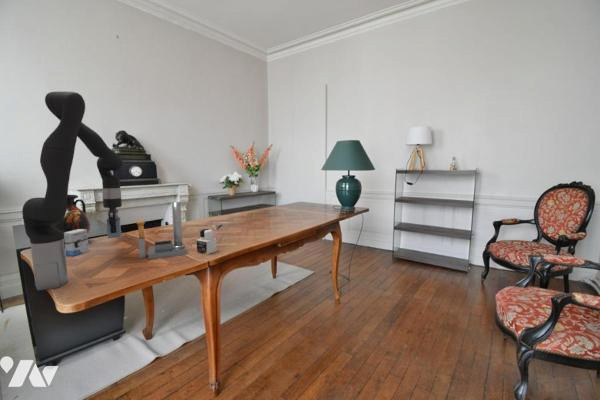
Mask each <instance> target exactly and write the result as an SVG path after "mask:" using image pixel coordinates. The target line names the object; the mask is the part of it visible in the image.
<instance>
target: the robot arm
mask: <svg viewBox="0 0 600 400" xmlns="http://www.w3.org/2000/svg"><path fill="white" fill-rule="evenodd" d="M44 103H45V106H46V107H47V109H48V110H49V111H50V113H51V114H52V115H53V116H54V117H56V118H57V119H58V120H59V123H58V125H57V127H56V128H55V129H54V130H53V131H52V132H51V133H50V134H49V135H48V136H47V138H46V139H45V140H44V142H43V143H42V144H43V145H42V147H41V151H40V156H39V157H40V159H39V163H40V167H41V170H42V172H43V175H44V176H45V180H46V191H45V195H44V197H31V198H29V199H28V200H26V201H25V202H24V204H23V206H22V210H21V211H22V213H21V214H22V219H23V225H24V230H25V234H26V236H27V237H28V239H29V243H30V251H31V259H32V268H33V275H34V276H33V277H34V285H35V289H36V290H37V291H42V290H43V291H45V290H49V289H56V288H61V286H64V285H65V284H68V282H69V277H68V276H69V275H68V268H67V257H66V256H67V255H66V249H65V246H64V237H63V232H62V231H61V230H59V229H57V228H55V227H54V226H53V224H52V223H57V222H59V221H61V220H62V219H63V218H64V216H65V214H66V210H67V198H68V195H69V185H70V184H69V183H70V175H71V170H72V166H73V161H74V157H75V151H76V143H77V139H79V140H80V141H81V142H82V144H84V146H85V147H86V148H87V150H88V151H89V152H90V153H91V155H93V156H94V157H96V158H97V160H96V167H97V170H98V172H99V173H98V174H99V175H100V178H101V180H102V206H103V207H102V208H105V209H109V210H108V211H107V216H108V217H107V219H108V220H109V225H110V228H111V233H116V220H117V218H119V210H118V209H117V208H121V207H122V206H123V204H122V203H123V201H122V191H121V181H120V177H119V176H117V175H113V173H112V172H113V171H114V172H117V171H121V170H122V169H123V168H124V161H123V160H122V158H121V156H120V155H118V153H116V152H115V151H114V150H112V149H111V148H110V147H109V146H108V145H107V144H106V141H104V139H103V138H102V137H101V135H100V134H98V133H97V132H96V131H95V130H93V129H92V128H90V127H89V126H88V125H86V124H85V123H83V118H84V117H85V112H86V102H85V99H84V98H83V96H82V94H80V93H78V92H75V91H51V92H48V93H47V94H46V95H45V97H44ZM112 220H114V222H111V221H112Z"/></svg>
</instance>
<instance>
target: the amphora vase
mask: <svg viewBox="0 0 600 400" xmlns="http://www.w3.org/2000/svg"><path fill="white" fill-rule="evenodd" d="M78 198H79V196H78V195H77V194H68V198H67V210H66V214H65V216H64V218H63V219H62V220H61V221H59V222H57V223H52V224H53V226H54V227H55V228H57V229H59V230H61V231H62V232H63V237H64V233H65V232H69V231H73V230H77V229H85V230H87V235H89V233H90V231H91V221H90V219H89V218H88V216H87V209H86V208H87V207H86V203H85V202H84V200H83V199H80V198H79V199H78ZM79 202H80V204H81V206H82V209H81V208H79V207H78V206H77V203H79ZM64 246H65V240H64Z"/></svg>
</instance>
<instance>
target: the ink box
mask: <svg viewBox="0 0 600 400" xmlns="http://www.w3.org/2000/svg"><path fill="white" fill-rule="evenodd" d="M88 235H89V234H87V230H85V229H77V230H73V231H69V232H65V233H64V240H65V256H69V257H75V256H78V255H82V254H83V253H87V252H89V251H90V249H89V247H90V246H89V237H88Z"/></svg>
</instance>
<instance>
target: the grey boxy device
mask: <svg viewBox="0 0 600 400" xmlns="http://www.w3.org/2000/svg"><path fill="white" fill-rule="evenodd" d="M199 236H200V237H199V238H198V239H196V253H197V254H200V253H201V254H202V255H205V256H206V255H207V256H208V255H210V253H211V254H213V253H216V252H217V251H218V250H217V249H218V248H217V247H218V246H217V238H216V237H213V230H212V229H211V228H204V229H201V230H200V231H199Z"/></svg>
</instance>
